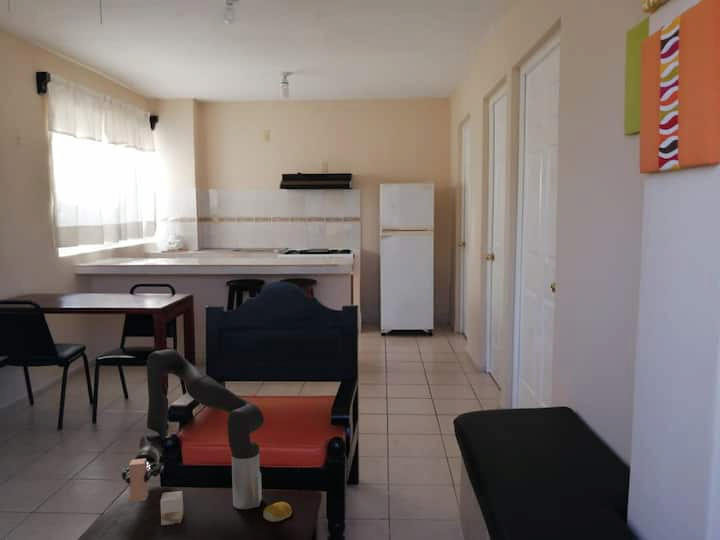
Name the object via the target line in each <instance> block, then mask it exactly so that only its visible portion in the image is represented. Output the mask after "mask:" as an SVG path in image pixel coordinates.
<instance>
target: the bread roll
mask: <svg viewBox="0 0 720 540" xmlns="http://www.w3.org/2000/svg"><path fill="white" fill-rule="evenodd" d="M292 512H293V510H292V507H291V505H290V504H289V503H287V502H285V501H279V502H275V503H273V504H271V505H267V506H266V507H265V508H264V509H263V518H264V519H265V520H267V521H268V522H272V523H273V522H281V521H282V520H285V519H287V518H289V517H291V516H292Z"/></svg>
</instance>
